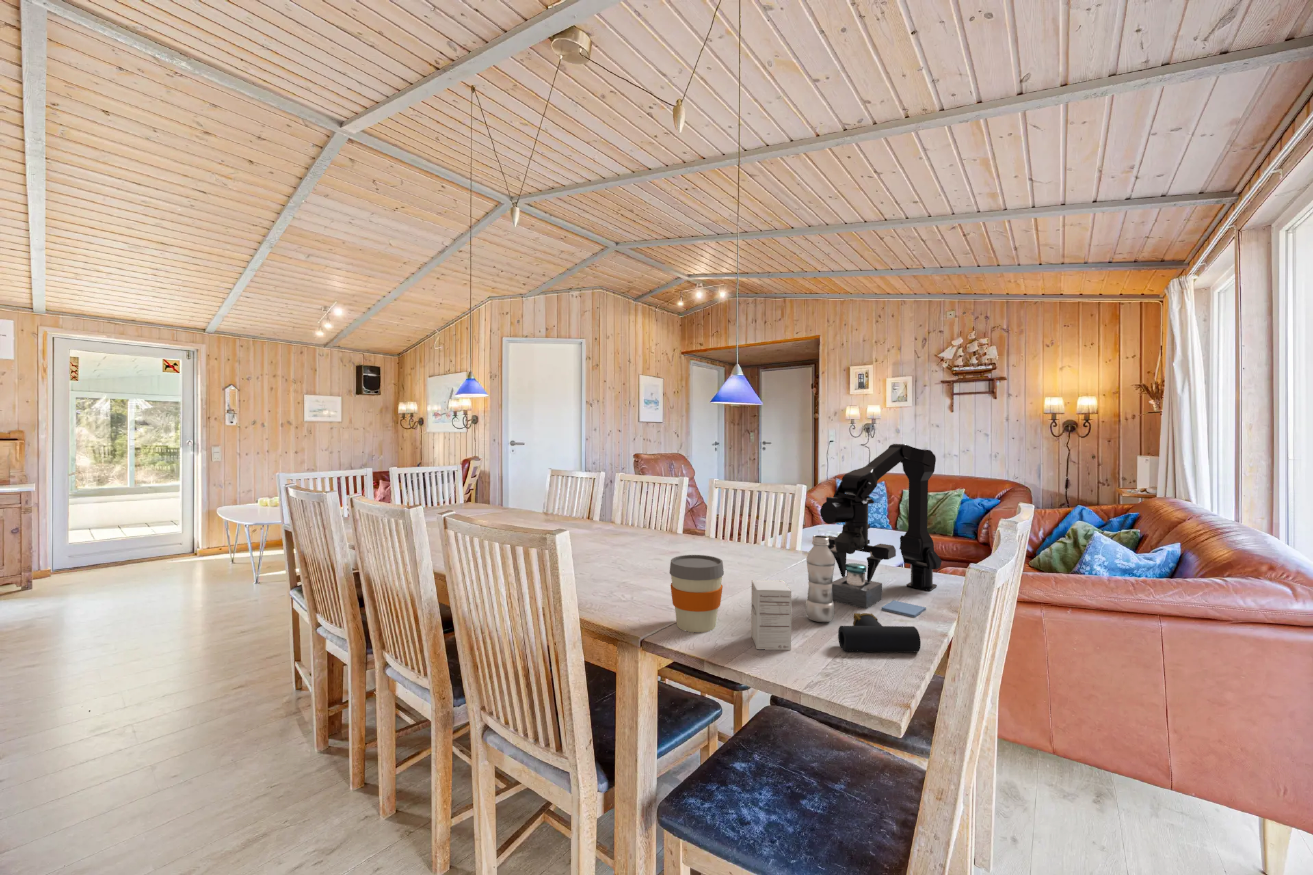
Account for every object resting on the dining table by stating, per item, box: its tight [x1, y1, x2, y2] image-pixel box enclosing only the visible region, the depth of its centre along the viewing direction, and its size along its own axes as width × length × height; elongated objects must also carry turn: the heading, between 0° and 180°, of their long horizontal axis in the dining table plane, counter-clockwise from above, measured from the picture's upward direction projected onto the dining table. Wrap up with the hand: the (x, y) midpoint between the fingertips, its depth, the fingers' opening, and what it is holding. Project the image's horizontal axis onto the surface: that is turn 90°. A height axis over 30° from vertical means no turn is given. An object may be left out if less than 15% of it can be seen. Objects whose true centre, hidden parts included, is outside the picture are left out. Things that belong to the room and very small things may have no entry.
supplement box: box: [750, 579, 792, 651], centre depth 115 cm, size 7×7×13 cm
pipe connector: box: [837, 612, 922, 653], centre depth 115 cm, size 12×5×15 cm
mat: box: [881, 600, 927, 619], centre depth 136 cm, size 8×8×1 cm
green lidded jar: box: [846, 562, 867, 588], centre depth 144 cm, size 5×5×9 cm
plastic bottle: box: [804, 534, 836, 623], centre depth 128 cm, size 6×7×20 cm
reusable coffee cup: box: [669, 554, 725, 633], centre depth 125 cm, size 13×13×15 cm
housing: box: [832, 575, 883, 610], centre depth 144 cm, size 10×10×4 cm
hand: (855, 579), depth 144 cm, fingers open, 7 cm apart
